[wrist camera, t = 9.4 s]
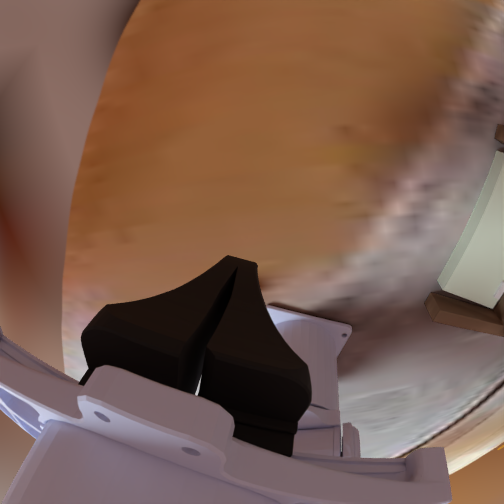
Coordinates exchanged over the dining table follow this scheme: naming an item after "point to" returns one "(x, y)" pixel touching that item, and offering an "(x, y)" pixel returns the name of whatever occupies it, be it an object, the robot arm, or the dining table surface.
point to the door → (481, 246)
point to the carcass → (464, 313)
